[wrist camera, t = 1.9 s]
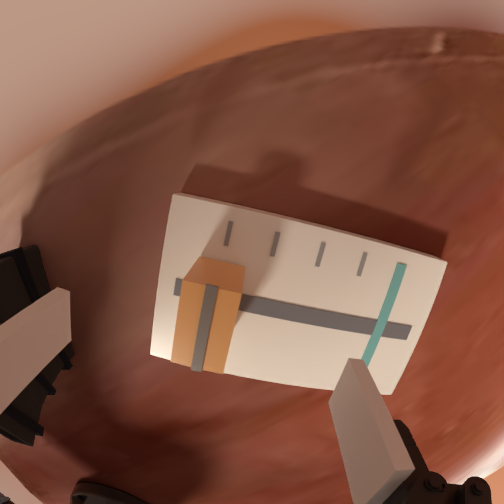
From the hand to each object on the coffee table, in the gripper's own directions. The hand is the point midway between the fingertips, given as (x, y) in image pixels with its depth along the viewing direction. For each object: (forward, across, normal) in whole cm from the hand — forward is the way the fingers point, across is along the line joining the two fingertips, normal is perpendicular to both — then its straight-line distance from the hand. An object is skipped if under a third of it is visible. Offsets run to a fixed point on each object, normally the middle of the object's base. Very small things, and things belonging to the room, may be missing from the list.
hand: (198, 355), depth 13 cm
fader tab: (+8, 0, 0) cm, 8 cm away
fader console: (+10, -6, 0) cm, 11 cm away
